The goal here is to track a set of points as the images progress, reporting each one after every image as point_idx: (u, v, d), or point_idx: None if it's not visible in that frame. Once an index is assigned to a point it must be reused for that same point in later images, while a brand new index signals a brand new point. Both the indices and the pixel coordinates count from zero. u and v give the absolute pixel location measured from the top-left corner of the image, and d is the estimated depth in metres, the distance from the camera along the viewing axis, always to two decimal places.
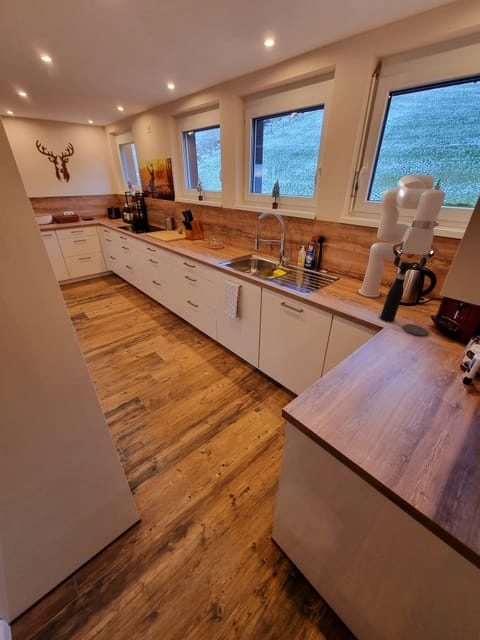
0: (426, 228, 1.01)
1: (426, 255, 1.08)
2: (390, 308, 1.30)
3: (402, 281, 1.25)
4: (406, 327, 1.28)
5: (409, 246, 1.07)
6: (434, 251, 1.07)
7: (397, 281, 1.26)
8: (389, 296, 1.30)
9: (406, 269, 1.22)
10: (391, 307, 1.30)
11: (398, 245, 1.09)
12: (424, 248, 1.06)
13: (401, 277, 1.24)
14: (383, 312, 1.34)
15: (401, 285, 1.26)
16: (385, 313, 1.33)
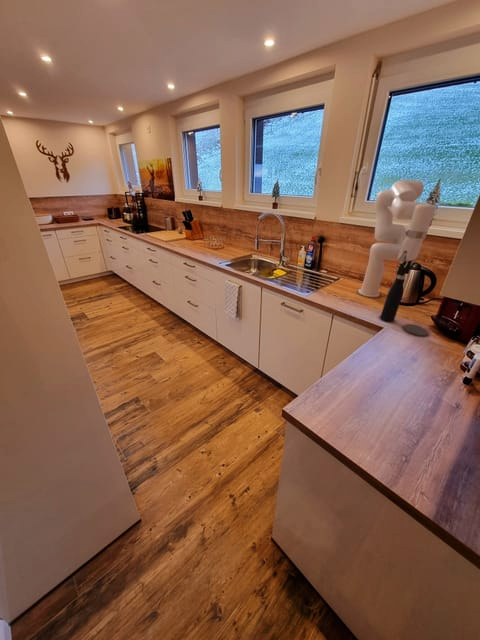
0: (424, 237, 1.14)
1: (412, 261, 1.22)
2: (390, 308, 1.30)
3: (402, 281, 1.25)
4: (406, 327, 1.28)
5: (411, 255, 1.17)
6: None
7: (397, 281, 1.26)
8: (389, 296, 1.30)
9: (406, 269, 1.22)
10: (391, 307, 1.30)
11: (404, 258, 1.17)
12: (417, 254, 1.20)
13: (401, 277, 1.24)
14: (383, 312, 1.34)
15: (401, 285, 1.26)
16: (385, 313, 1.33)
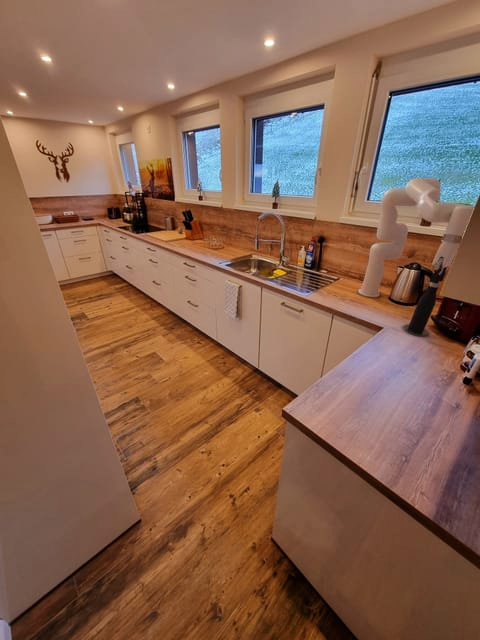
0: None
1: (447, 268, 1.12)
2: (421, 317, 1.20)
3: (435, 289, 1.15)
4: (406, 327, 1.28)
5: (448, 261, 1.07)
6: None
7: (430, 289, 1.16)
8: (420, 305, 1.20)
9: (441, 276, 1.12)
10: (421, 316, 1.20)
11: (440, 264, 1.07)
12: None
13: (434, 285, 1.14)
14: (412, 322, 1.24)
15: (434, 294, 1.16)
16: (414, 323, 1.23)
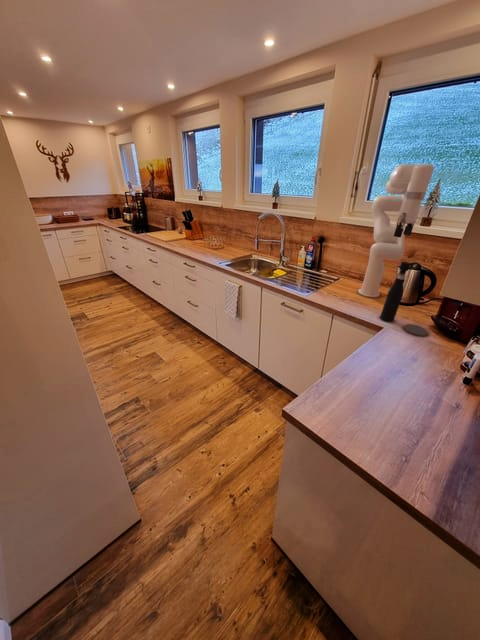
0: (423, 198, 1.15)
1: (413, 222, 1.25)
2: (390, 307, 1.31)
3: (402, 281, 1.25)
4: (406, 327, 1.28)
5: (410, 216, 1.18)
6: None
7: (397, 281, 1.26)
8: (389, 296, 1.30)
9: (406, 269, 1.22)
10: (391, 307, 1.30)
11: (402, 217, 1.18)
12: (415, 216, 1.21)
13: (401, 277, 1.24)
14: (383, 312, 1.34)
15: (401, 285, 1.26)
16: (385, 313, 1.33)
